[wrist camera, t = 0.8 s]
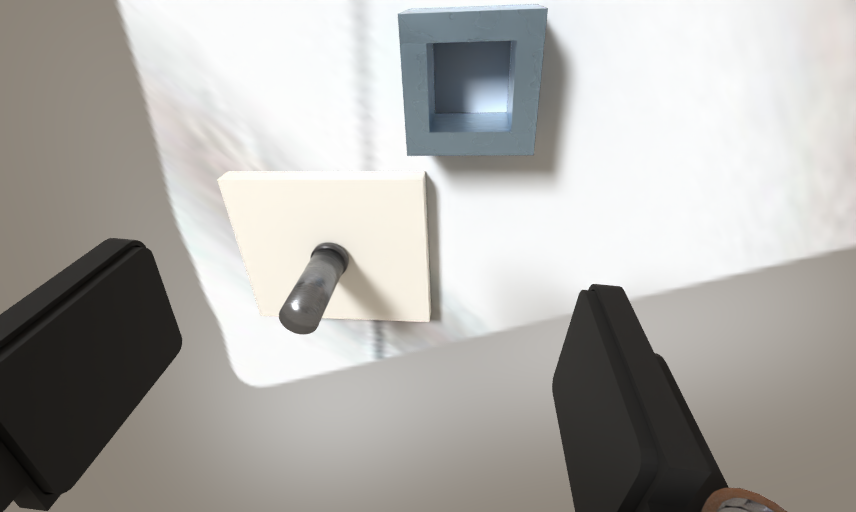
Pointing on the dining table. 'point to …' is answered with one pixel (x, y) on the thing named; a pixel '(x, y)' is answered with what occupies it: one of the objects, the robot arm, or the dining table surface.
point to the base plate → (335, 237)
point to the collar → (472, 129)
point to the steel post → (314, 289)
